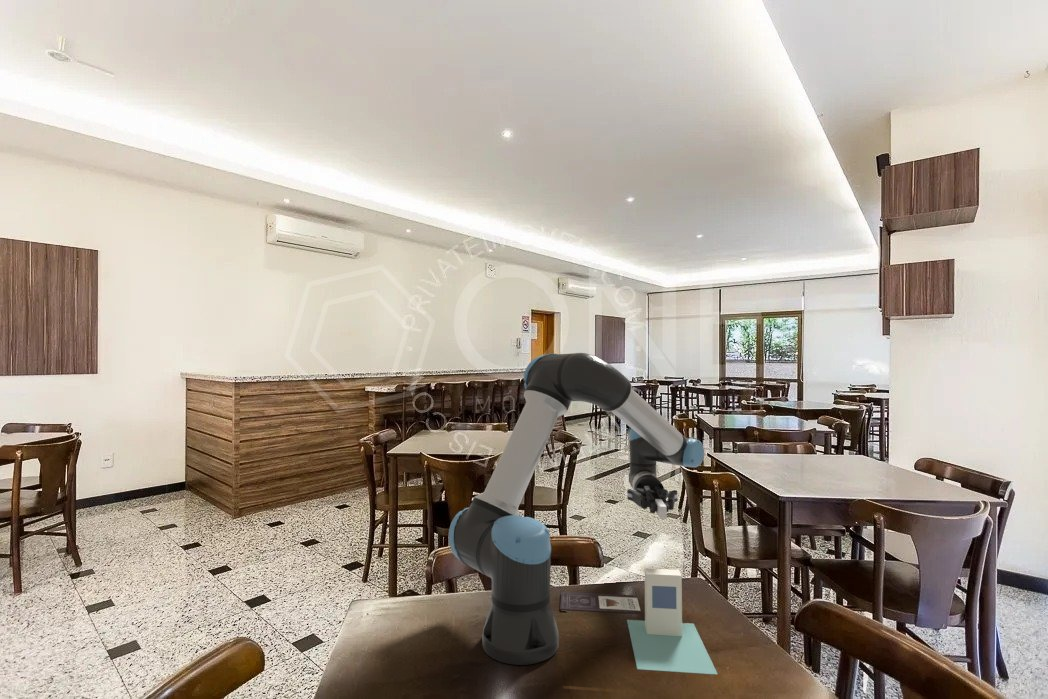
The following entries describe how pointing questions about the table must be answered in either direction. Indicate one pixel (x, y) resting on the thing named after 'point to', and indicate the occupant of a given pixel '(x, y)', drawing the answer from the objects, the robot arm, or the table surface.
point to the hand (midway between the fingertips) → (663, 512)
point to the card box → (663, 602)
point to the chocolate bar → (599, 602)
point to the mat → (670, 650)
